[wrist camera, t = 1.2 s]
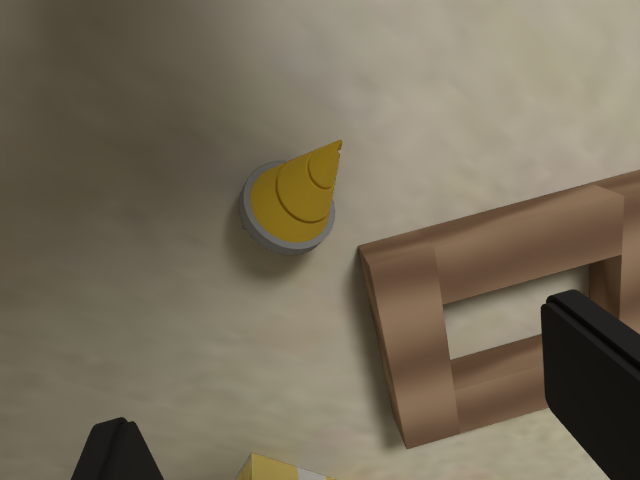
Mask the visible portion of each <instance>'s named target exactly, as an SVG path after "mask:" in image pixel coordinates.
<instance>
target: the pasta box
mask: <svg viewBox="0 0 640 480" xmlns="http://www.w3.org/2000/svg"><path fill="white" fill-rule="evenodd" d="M234 480H336V479H333V478H330V477H327V476H324V475H320V474H317V473H314V472H311V471H308V470H305V469H301V468H298V467H295V466H292V465H289V464H286V463H283V462H279V461H276V460H273V459H270V458H267V457H264V456H260V455H257V454H254V453H251V455H250V456H249V458H248V459H247V461H246V462H245V464H244V465H243V467H242V468H241V470H240V471H239V473H238V474H237V476H236V478H235V479H234Z"/></svg>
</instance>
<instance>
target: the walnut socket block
mask: <svg viewBox="0 0 640 480" xmlns="http://www.w3.org/2000/svg"><path fill="white" fill-rule="evenodd" d="M358 249H359V253H360V258H361V263H362V268H363V272H364V277H365V282H366V287H367V291H368V296H369V301H370V306H371V310H372V315H373V320H374V325H375V329H376V334H377V339H378V344H379V348H380V353H381V358H382V363H383V367H384V372H385V377H386V382H387V386H388V391H389V396H390V401H391V405H392V410H393V415H394V419H395V422H396V424H397V427H398V429H399V432H400V434H401V437H402V439H403V441H404V444H405V446H406V449H410V448H413V447H417V446H420V445H423V444H427V443H430V442H434V441H437V440H440V439H444V438H447V437H451V436H454V435H457V434H461V433H464V432H467V431H471V430H474V429H478V428H481V427H484V426H488V425H491V424H495V423H498V422H501V421H505V420H508V419H511V418H515V417H518V416H522V415H525V414H528V413H532V412H535V411H539V410H542V409H545V408H549V406H548V404H547V402H546V399H545V390H544V369H543V348H542V334H540V335H537V336H533V337H530V338H526V339H523V340H519V341H516V342H512V343H509V344H505V345H502V346H498V347H495V348H491V349H488V350H484V351H481V352H477V353H474V354H470V355H467V356H463V357H460V358H456V359H453V360H450V356H449V349H448V342H447V334H446V327H445V320H444V313H443V304H447V303H450V302H454V301H457V300H461V299H465V298H468V297H472V296H475V295H479V294H482V293H486V292H490V291H493V290H497V289H500V288H504V287H507V286H511V285H515V284H518V283H522V282H525V281H529V280H532V279H536V278H540V277H543V276H547V275H550V274H554V273H557V272H561V271H565V270H568V269H572V268H575V267H579V266H582V265H586V264H589V263H590V300H592V301H593V302H595V303H596V304H597V305H599V306H600V307H602V308H603V309H605V310H606V311H607V312H609V313H610V314H612V315H613V316H615V317H616V318H617V319H619V320H620V321H622V322H623V323H624V324H626V325H627V326H629V327H630V328H632V329H633V330H634V331H636V332H637V333H639V334H640V170H637V171H633V172H629V173H626V174H622V175H618V176H615V177H611V178H607V179H604V180H600V181H596V182H593V183H589V184H585V185H581V186H578V187H574V188H570V189H567V190H563V191H559V192H556V193H552V194H548V195H544V196H541V197H537V198H533V199H530V200H526V201H522V202H519V203H515V204H511V205H508V206H504V207H500V208H496V209H493V210H489V211H485V212H482V213H478V214H474V215H471V216H467V217H463V218H460V219H456V220H452V221H448V222H445V223H441V224H437V225H434V226H430V227H426V228H423V229H419V230H415V231H411V232H408V233H404V234H400V235H397V236H393V237H389V238H386V239H382V240H378V241H375V242H371V243H367V244H363V245H360V246H358Z"/></svg>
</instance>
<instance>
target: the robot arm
mask: <svg viewBox="0 0 640 480" xmlns="http://www.w3.org/2000/svg"><path fill="white" fill-rule="evenodd" d="M541 327H542V348H543V369H544V390H545V399H546V402H547V404H548V406H549V408H550V410H551V411H552V412H553V414H554V415H555V416H556V417H557V418H558V419H559V421H560V422H561V423H562V424H563V425H564V426H565V428H566V429H567V430H568V431H569V432H570V433H571V435H572V436H573V437H574V438H575V439H576V440H577V441H578V443H579V444H580V445H581V446H582V447H583V448H584V450H585V451H586V452H587V453H588V454H589V455H590V457H591V458H592V459H593V460H594V461H595V462H596V464H597V465H598V466H599V467H600V468H601V469H602V470H603V472H604V473H605V474H606V475H607V476H608V477H609V479H610V480H640V334H639V333H637V332H636V331H634V330H633V329H632V328H630V327H629V326H627V325H626V324H624V323H623V322H622V321H620V320H619V319H617V318H616V317H615V316H613V315H612V314H610V313H609V312H607V311H606V310H605V309H603V308H602V307H600V306H599V305H597V304H596V303H595V302H593V301H592V300H590V299H589V298H588V297H586V296H585V295H583V294H582V293H580V292H579V291H577V290H573V289H572V290H568V291H565V292H561V293H558V294H554V295H551V296H549V297H548V298H547V300H546V304H543V305H542V306H541ZM71 480H164V479H163V477H162V475H161V473H160V471H159V469H158V467H157V465H156V463H155V461H154V459H153V457H152V455H151V453H150V451H149V449H148V447H147V445H146V443H145V441H144V439H143V437H142V435H141V433H140V430H139V428H138V426H137V425H136V423H135V422H134V421H131V422H127V420H126V419H125V418H124V417H120V418H116V419H113V420H109V421H106V422H102V423H99V424H96V425H94V426H93V428H92V430H91V432H90V434H89V437H88V439H87V442H86V444H85V447H84V449H83V451H82V454H81V456H80V459H79V461H78V464H77V466H76V469H75V471H74V473H73V476H72V478H71Z"/></svg>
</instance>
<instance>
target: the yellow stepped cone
mask: <svg viewBox="0 0 640 480" xmlns="http://www.w3.org/2000/svg"><path fill="white" fill-rule="evenodd" d="M341 146H342V141H341V140H339V141H336V142H333V143H331V144H329V145H326V146H324V147H321V148H319V149H317V150H314V151H312V152H309V153H307V154H305V155H302V156H300V157H297V158H295V159H293V160H290V161H288V162H284V161H279V162H271V163H267V164H265V165H263V166H261V167H259V168H258V169H256V170H255V171H254V172H253V173H252V174H251V176H250V177H249V178H248V180H247V182H246V183H245V185H244V187H243V189H242V192H241V194H240V199H239V212H240V216H241V220H242V222H243V224H244V226H243V227H242V229H246V230H247V231H248V233H249V234H250V235H251V237H252V238H253V239H254V240H256V241H257V242H258V243H259V244H260V245H262V246H263V247H265V248H266V249H268V250H271V251H273V252H275V253H279V254H283V255H299V254H303V253H306V252H308V251H310V250H312V249H313V248H315V247H316V246H317V245H318V244H320V243H321V242H322V241H323V240H324V239H325V238H326V237H327V235H328V234H329V233H330V231H331V229H332V227H333V223H334V218H335V209H334V203H333V200H332V196H333V190H334V185H335V179H336V174H337V168H338V163H339V157H340V154H339V153H338V150H340V149H341Z"/></svg>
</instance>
